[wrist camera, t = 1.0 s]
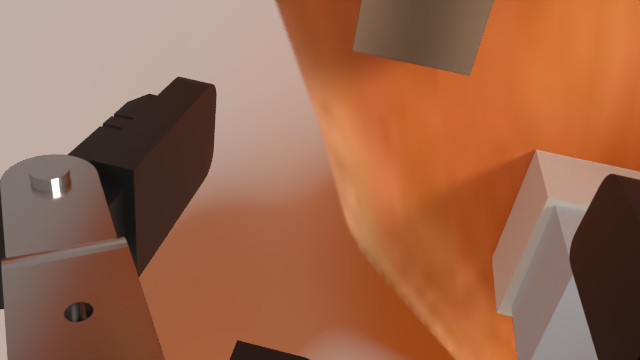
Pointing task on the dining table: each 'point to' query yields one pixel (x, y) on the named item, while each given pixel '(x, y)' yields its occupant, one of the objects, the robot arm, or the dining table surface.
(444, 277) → the dining table surface
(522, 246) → the tower base
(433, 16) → the walnut block
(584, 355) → the tower top
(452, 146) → the dining table surface
